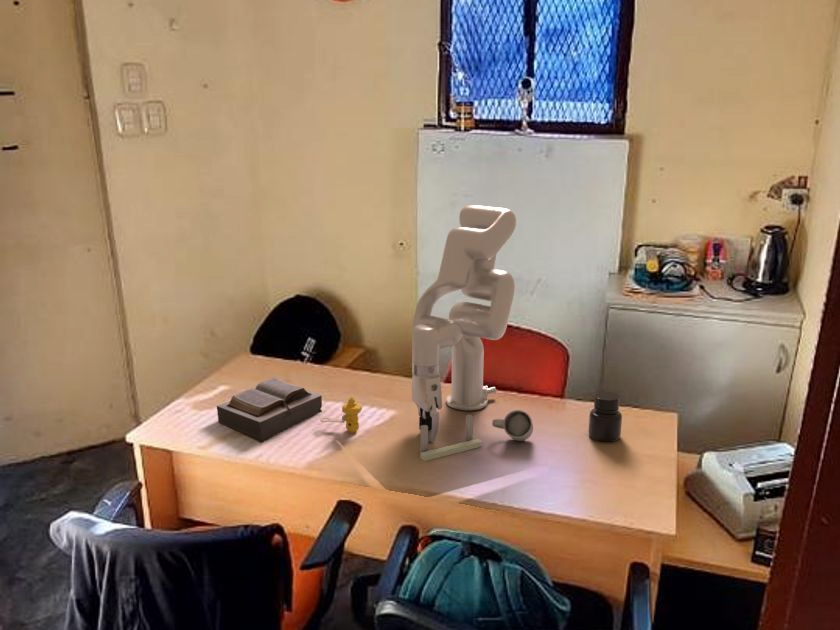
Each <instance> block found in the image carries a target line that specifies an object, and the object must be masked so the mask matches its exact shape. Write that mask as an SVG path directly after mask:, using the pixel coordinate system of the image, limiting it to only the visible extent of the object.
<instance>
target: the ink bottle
mask: <svg viewBox="0 0 840 630" xmlns="http://www.w3.org/2000/svg"><path fill="white" fill-rule="evenodd" d="M620 399H621V396H620V395H619V394H618V393H616V392H614V391H609V390H608V391H607V390H603V391H602V390H601V391H597V392H596V393H594V402H593V408H592V409H591V410H590V411H589V417H588V418H589V419H588V429H587V430H588V435H589V436H590V437H591V438H592V439H594V440H597V441H603V442H614V441H617V440H619V439H620V438H621V436H622V435H621V433H622V425H623V424H622V423H623V415H622V413H621V412H620V410H619V409H620Z"/></svg>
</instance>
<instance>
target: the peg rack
mask: <svg viewBox="0 0 840 630" xmlns="http://www.w3.org/2000/svg"><path fill="white" fill-rule="evenodd" d="M464 427H465V437H464V439H465V441H463V442H459V443H456V444H451V445H447V446H443V447H439V448H435V449H431V450H429V443H428V426H427V425H421V426H420V429H419V430H420V431H419V432H420V433H419V434H420V439H419V440H420V443H419V444H420V454H419V457H420V460H422V461H423V462H426V461H430V460H434V459H438V458H442V457H446V456H449V455H454V454H457V453H462V452H465V451H469V450H474V449H477V448H482V447H483V441H482V440H480V439H479V438H475V439H473V435H474V434H473V431H474V428H473V427H474V415H472V414H466V415H465V426H464Z"/></svg>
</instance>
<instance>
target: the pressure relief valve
mask: <svg viewBox="0 0 840 630" xmlns="http://www.w3.org/2000/svg"><path fill="white" fill-rule="evenodd" d="M362 409H363V406H362V405H361V404H360V403H359V402H356V399H355V398H354V397H349V398H348V401H347V402H346V403H344V404H343V405H342V407H341V411H342V413H344V414H342V417H341V419H340V418H331V417H327V416H324V417H321V418H320V419H319V421H320V422H321V423H327V422H329V423H340V424H342V423H343V424H344V423H345V422H346V423H345V428H346V430H347V431H348V432H349V433H351V434H353V433H356V432H357V430H359V427H360V423H359V415H358V414H360V413H361V412H362ZM325 419H326V420H325Z"/></svg>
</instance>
